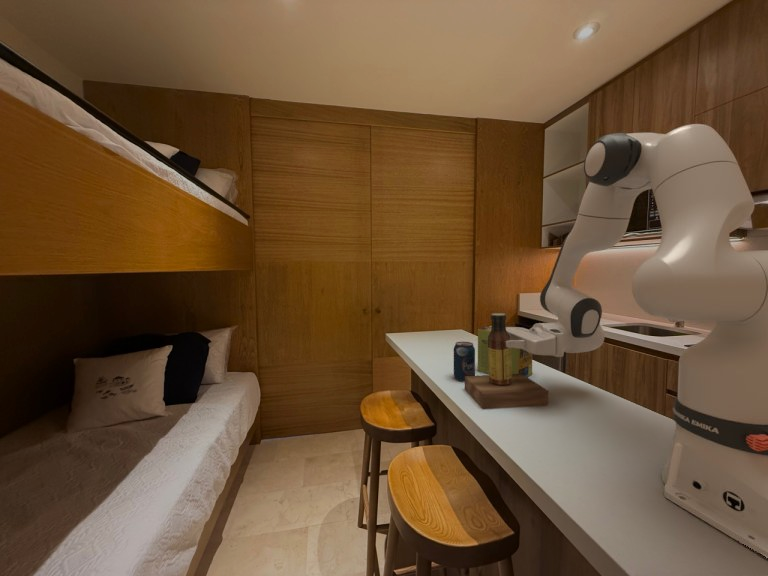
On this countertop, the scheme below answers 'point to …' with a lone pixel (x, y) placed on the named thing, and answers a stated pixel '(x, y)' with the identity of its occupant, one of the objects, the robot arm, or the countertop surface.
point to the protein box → (519, 357)
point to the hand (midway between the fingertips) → (497, 340)
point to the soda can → (464, 360)
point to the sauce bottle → (499, 352)
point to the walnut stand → (506, 392)
